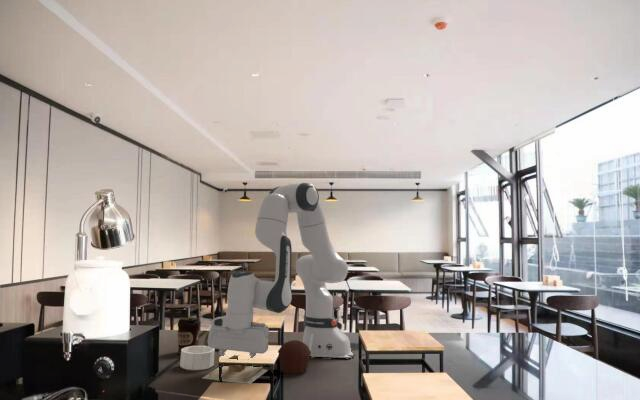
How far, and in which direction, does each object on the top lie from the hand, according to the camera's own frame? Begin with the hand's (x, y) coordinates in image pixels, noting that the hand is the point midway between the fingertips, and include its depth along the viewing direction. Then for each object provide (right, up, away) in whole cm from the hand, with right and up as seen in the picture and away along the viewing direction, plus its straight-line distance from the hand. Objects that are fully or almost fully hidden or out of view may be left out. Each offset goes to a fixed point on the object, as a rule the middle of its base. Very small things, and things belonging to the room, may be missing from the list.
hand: (236, 364), depth 139 cm
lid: (0, -3, 0) cm, 3 cm away
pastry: (-14, -7, +36) cm, 39 cm away
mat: (0, -3, 0) cm, 3 cm away
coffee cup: (-24, -5, +24) cm, 34 cm away
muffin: (+18, -5, +6) cm, 20 cm away
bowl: (-15, -4, +6) cm, 17 cm away
